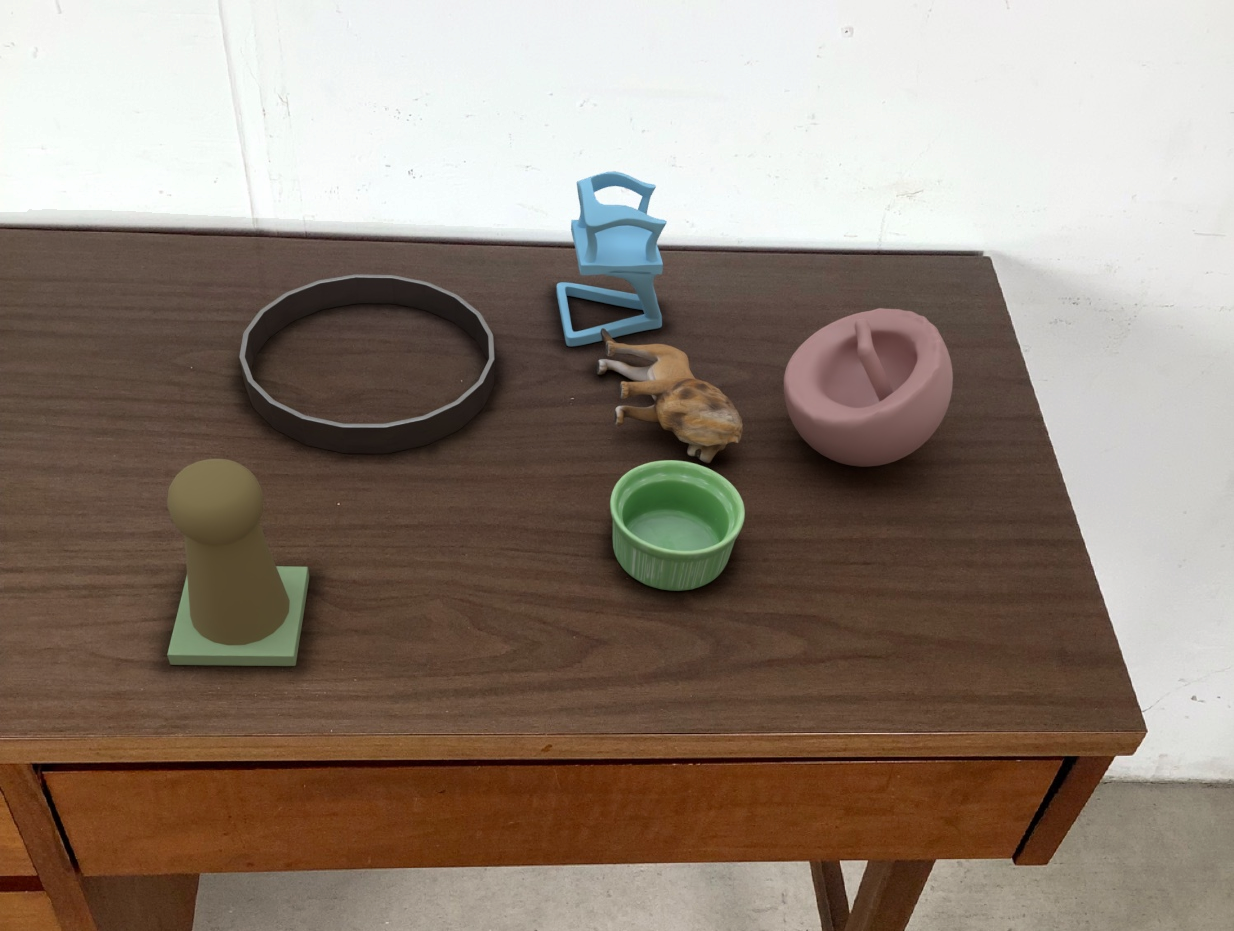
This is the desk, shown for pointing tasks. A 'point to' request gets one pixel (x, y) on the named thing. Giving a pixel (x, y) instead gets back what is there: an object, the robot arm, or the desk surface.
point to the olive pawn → (227, 553)
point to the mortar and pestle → (869, 386)
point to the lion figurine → (674, 397)
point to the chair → (614, 257)
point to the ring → (367, 435)
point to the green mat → (266, 652)
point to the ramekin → (674, 524)
